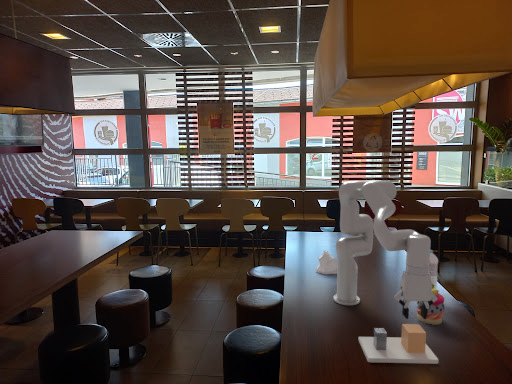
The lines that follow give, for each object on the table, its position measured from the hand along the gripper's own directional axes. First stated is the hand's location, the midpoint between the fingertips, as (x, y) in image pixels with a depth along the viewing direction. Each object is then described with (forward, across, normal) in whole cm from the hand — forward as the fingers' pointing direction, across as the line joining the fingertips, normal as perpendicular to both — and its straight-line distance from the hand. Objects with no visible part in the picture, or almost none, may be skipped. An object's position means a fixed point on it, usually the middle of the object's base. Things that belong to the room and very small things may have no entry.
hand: (414, 316), depth 127 cm
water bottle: (+14, -25, -45) cm, 53 cm away
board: (+14, +6, 0) cm, 15 cm away
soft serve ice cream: (+14, +18, -83) cm, 86 cm away
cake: (+14, -17, -25) cm, 33 cm away
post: (+14, +12, 0) cm, 18 cm away
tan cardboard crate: (+12, 0, 0) cm, 12 cm away
